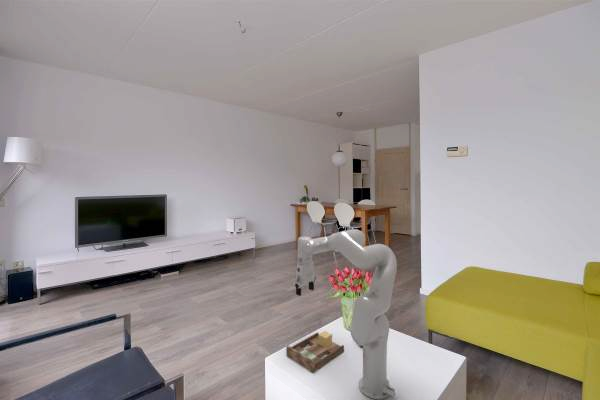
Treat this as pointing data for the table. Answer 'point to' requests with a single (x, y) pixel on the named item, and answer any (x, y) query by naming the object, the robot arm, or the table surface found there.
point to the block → (325, 339)
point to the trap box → (313, 353)
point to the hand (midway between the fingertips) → (305, 292)
